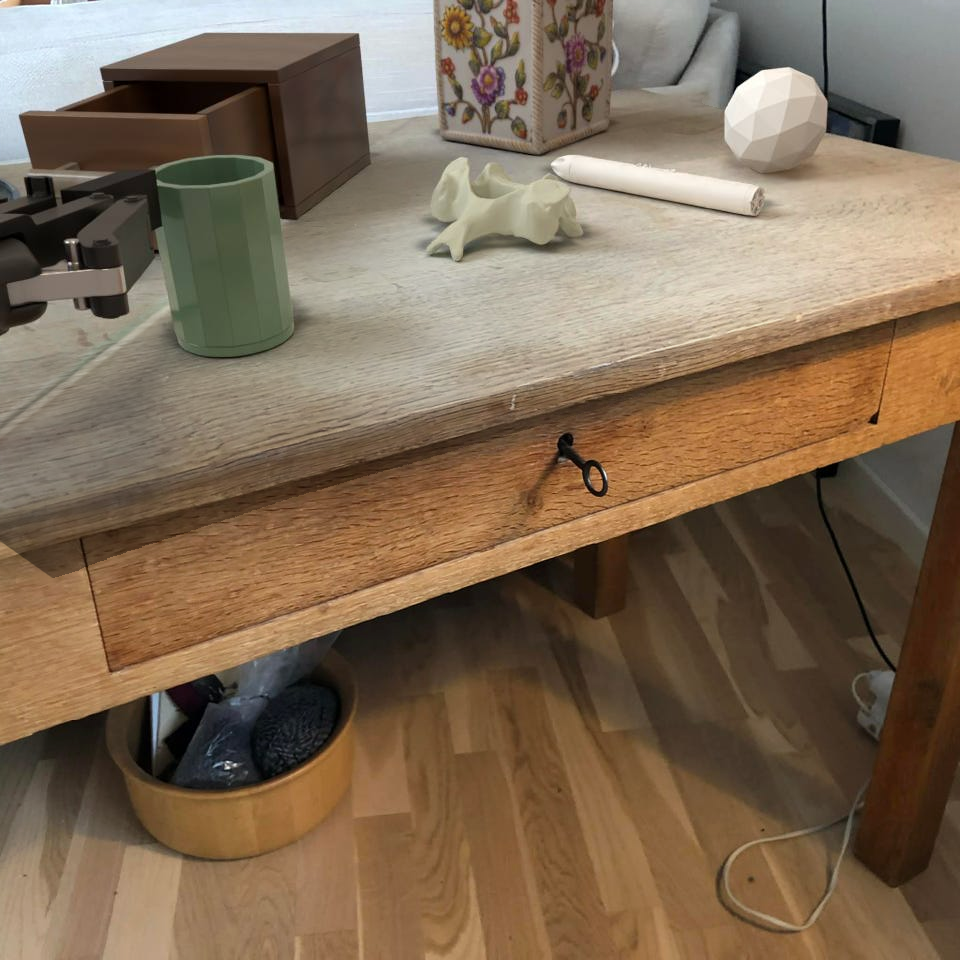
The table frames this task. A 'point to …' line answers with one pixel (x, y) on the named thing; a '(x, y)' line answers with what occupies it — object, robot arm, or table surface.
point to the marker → (661, 184)
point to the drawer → (149, 130)
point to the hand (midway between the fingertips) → (144, 197)
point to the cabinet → (280, 98)
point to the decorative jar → (523, 71)
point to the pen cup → (224, 254)
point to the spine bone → (499, 207)
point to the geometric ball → (775, 120)
